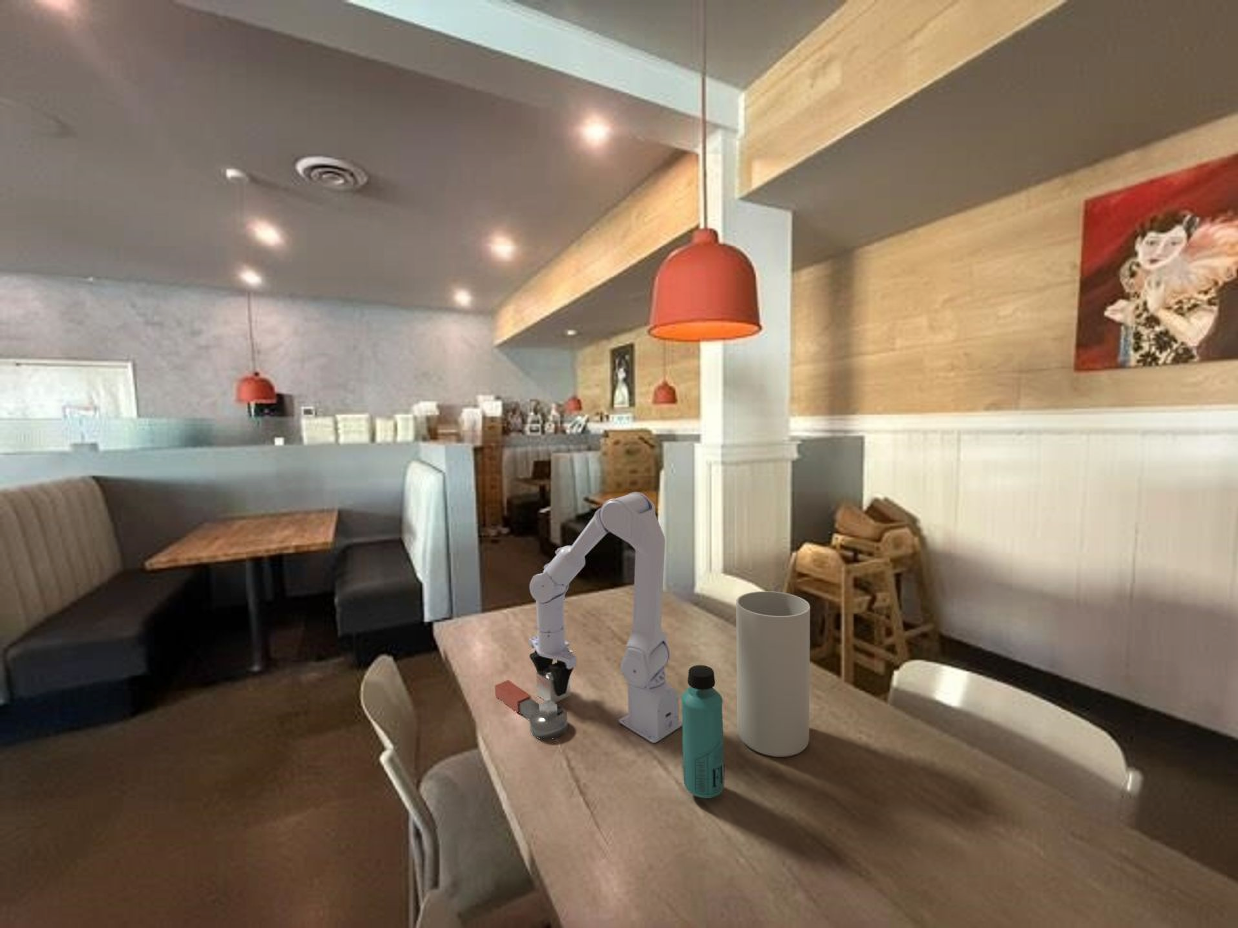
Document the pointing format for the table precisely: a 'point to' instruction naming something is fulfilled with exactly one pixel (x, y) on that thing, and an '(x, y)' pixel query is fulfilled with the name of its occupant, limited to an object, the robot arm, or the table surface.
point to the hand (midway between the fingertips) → (553, 689)
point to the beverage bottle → (702, 734)
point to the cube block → (549, 686)
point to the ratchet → (534, 711)
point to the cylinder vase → (773, 672)
